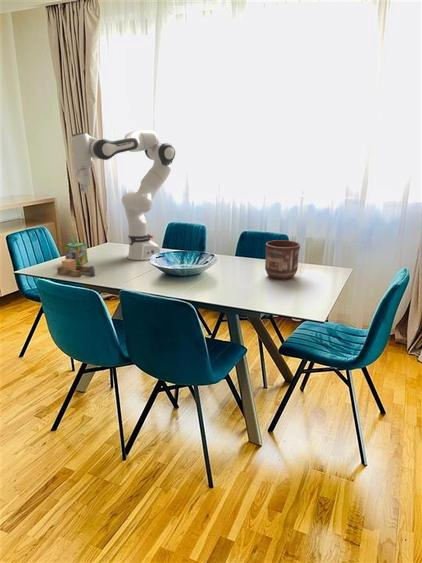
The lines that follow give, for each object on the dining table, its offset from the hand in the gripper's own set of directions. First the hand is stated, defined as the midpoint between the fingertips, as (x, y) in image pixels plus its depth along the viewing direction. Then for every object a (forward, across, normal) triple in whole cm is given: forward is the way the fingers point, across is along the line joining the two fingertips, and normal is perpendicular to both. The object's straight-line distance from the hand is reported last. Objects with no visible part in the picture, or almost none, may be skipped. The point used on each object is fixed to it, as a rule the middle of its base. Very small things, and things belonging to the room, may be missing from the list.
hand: (84, 192), depth 222 cm
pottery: (+42, -59, -88) cm, 114 cm away
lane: (+42, -8, +10) cm, 44 cm away
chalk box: (+42, +11, +6) cm, 44 cm away
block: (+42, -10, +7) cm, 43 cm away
